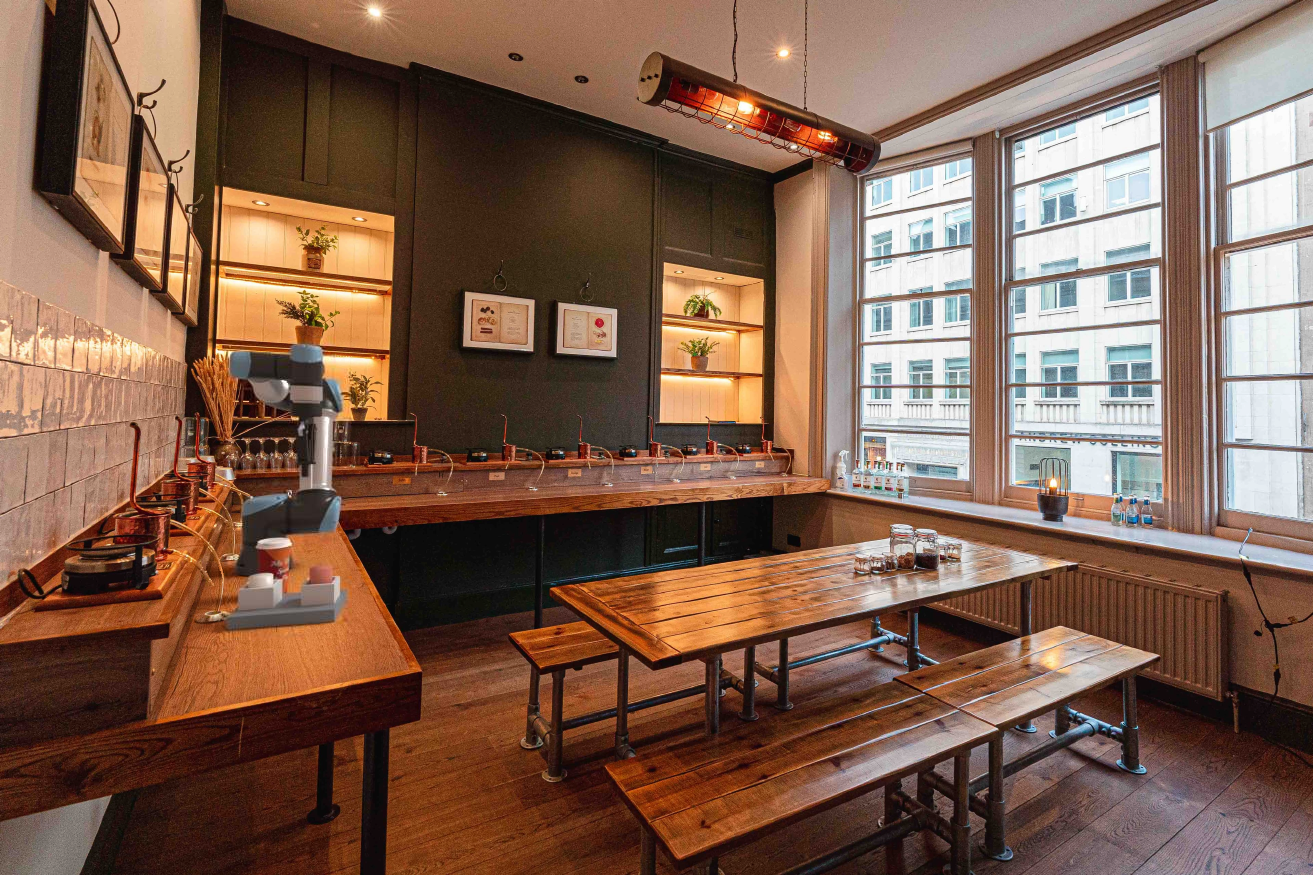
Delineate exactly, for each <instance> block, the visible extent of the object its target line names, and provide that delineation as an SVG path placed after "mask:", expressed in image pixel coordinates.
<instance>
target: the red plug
mask: <svg viewBox="0 0 1313 875" xmlns="http://www.w3.org/2000/svg"><path fill="white" fill-rule="evenodd" d="M333 569H334V568H333V566H332V565H327V564H323V565H316V566H312V567H310V568H309V578H310V585H311V584H328V583H332V576H334V575H333Z"/></svg>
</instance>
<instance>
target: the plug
mask: <svg viewBox="0 0 1313 875" xmlns="http://www.w3.org/2000/svg"><path fill="white" fill-rule="evenodd" d="M247 582H248V588H261V587H271V586H272V585H273V574H272V573H260V574H254V575H251V576H248V581H247Z"/></svg>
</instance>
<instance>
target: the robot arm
mask: <svg viewBox="0 0 1313 875" xmlns="http://www.w3.org/2000/svg"><path fill="white" fill-rule="evenodd" d="M289 352H290V353H274V352H273V353H272V352H264V351H263V352H259V351H248V350H234V351H232V352H231V353H230V355H229V362H228V365H229V367H228V368H229V374H230V376H231V377H232V378H233V379H242V380H248V382H249V383H250V384H251V385H252V388H253V389H252V390H253V393H254V395H255V397H256V398H257V399H258V400H259V401H260V402H262V403H263V404H265V405H267V406H270V407H272V408H275V409H279V410H282V411H288V412H289V416H290V417H298V421H297V423H296V424H295V425H296V426H295V428H294V434H295V444H296V455H297V456H296V459H297V462H295V465H296V466H299V489H297V491H295V497H293V498H292V497H291V498H290V497H289V498H288V495H287V493H273V494H267V495H261V496H255V497H252V498H251V497H250V498H248V499H247V500H245V501H244V502H243V504H242V506H241V508H242V509H241V514H240V517H241V547H240V548H241V549H240V551H239V553H238V557H237V559H236V561H235V564H234V574H236V575H239V576H244V577H245V576H248V577H249V576H251V575H254V574H259V568H258V553H257V548H256V546H257V544H258V541H260V540H264V539H270V538H288V537H287V536H292V535H293V536H294V535H295V536H296V535H310V534H311V535H312V534H318V535H320V534H323V533H324V534H325V533H327V534H328V533H331V532H334V531H336V529H337V527H338V523H339V520H340V513H341V505H342V497H341V496H339V495H337V490H336V489H334V488H333V487H332V479H333V476H332V475H333V438H334V436H333V434H334V429H333V428H334V421H335V420H337V419H338V418H339V413H342V412H343V411H344V407H343V399H342V391H341V385H340V382H339V381H338V380H337V379H334V378H326V377H324V375H325V372H326V368H325V367H326V365H325V364H324V362H323V360H324V356H323V348H322V347H320V346H318V345H314V344H293V345H291V346H290V351H289ZM293 567H294V559H293V556H292V553H291V552H290V558H289V570H291V569H292V568H293Z"/></svg>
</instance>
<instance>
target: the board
mask: <svg viewBox="0 0 1313 875" xmlns="http://www.w3.org/2000/svg"><path fill="white" fill-rule="evenodd" d="M347 601H348V590H347V589H341V576H340V575H332V583H328V584H311V585H310V577H307V579H306V580H305V581H304V582H303V583H302V584H301V586H300V592H291V593H290V592H287V593H285V594H282V579H277V580H273V585H272V586H271V587H261V588H248V581H247V582H246V583H244V585H242V586H241V587H239V589H238V590H237V607H236V608H235V609H234V610H233V611H231V613H230V614H228V615H227V616H226V631H232V630H244V629H245V630H246V629H257V628H259V629H260V628H271V627H282V626H294V625H310V624H321V623H331V622H332V623H333V622H335V621H336V620H337V618H338V616H339V614H340V613H341V611H342V609H343V608H344V606H345V605H346V603H347Z"/></svg>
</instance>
